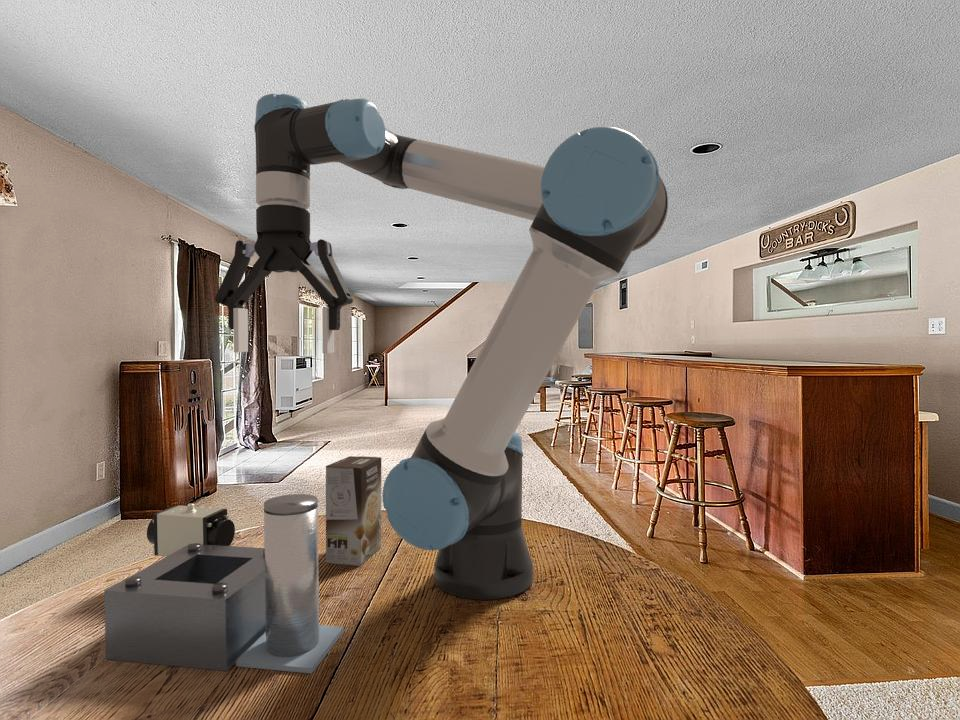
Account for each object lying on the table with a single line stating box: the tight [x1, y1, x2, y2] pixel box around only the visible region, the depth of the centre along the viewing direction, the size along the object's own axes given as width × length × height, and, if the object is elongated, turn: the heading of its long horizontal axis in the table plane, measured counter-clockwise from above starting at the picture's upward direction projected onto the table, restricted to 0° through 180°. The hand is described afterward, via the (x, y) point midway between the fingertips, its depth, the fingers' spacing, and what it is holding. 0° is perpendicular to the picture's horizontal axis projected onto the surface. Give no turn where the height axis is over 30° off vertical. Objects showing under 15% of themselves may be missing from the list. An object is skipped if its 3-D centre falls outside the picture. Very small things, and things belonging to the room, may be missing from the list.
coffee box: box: [325, 455, 383, 567], centre depth 96 cm, size 9×6×16 cm
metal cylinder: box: [263, 493, 320, 657], centre depth 67 cm, size 6×6×17 cm
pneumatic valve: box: [146, 502, 236, 557], centre depth 85 cm, size 6×12×12 cm, turn 78°
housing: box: [103, 543, 266, 672], centre depth 71 cm, size 15×15×9 cm
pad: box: [235, 624, 345, 675], centre depth 67 cm, size 9×9×1 cm
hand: (284, 352), depth 84 cm, fingers open, 13 cm apart
